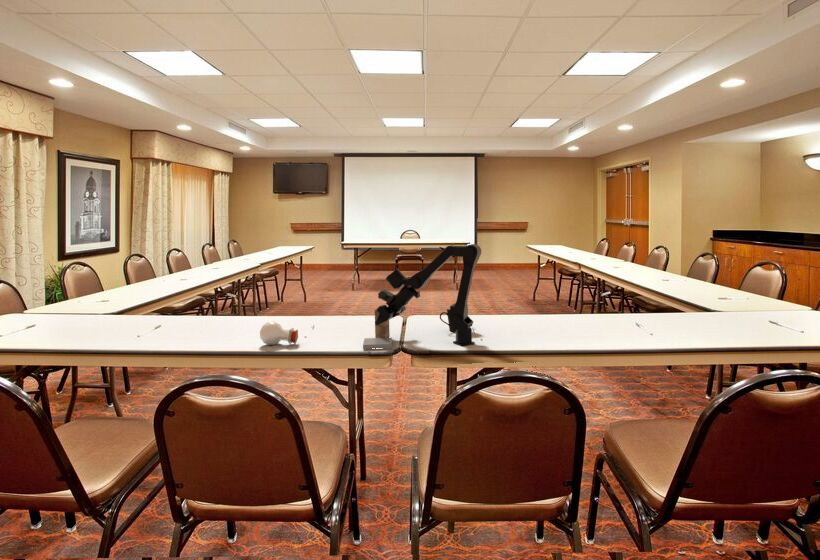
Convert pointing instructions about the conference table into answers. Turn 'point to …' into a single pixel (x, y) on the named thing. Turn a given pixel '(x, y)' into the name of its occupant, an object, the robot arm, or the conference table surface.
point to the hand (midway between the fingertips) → (379, 322)
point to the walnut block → (381, 328)
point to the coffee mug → (451, 326)
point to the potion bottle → (277, 334)
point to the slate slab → (377, 343)
